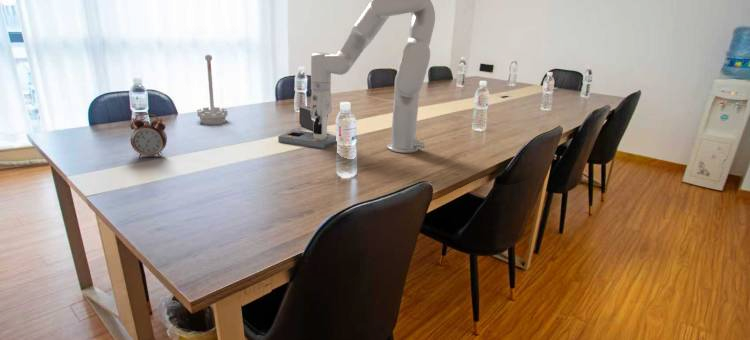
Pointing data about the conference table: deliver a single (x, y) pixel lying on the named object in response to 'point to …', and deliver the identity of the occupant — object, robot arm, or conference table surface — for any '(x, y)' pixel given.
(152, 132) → the alarm clock
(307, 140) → the panel
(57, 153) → the conference table surface
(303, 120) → the leaning round-cornered charcoal block
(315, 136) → the plug
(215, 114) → the flag stand
